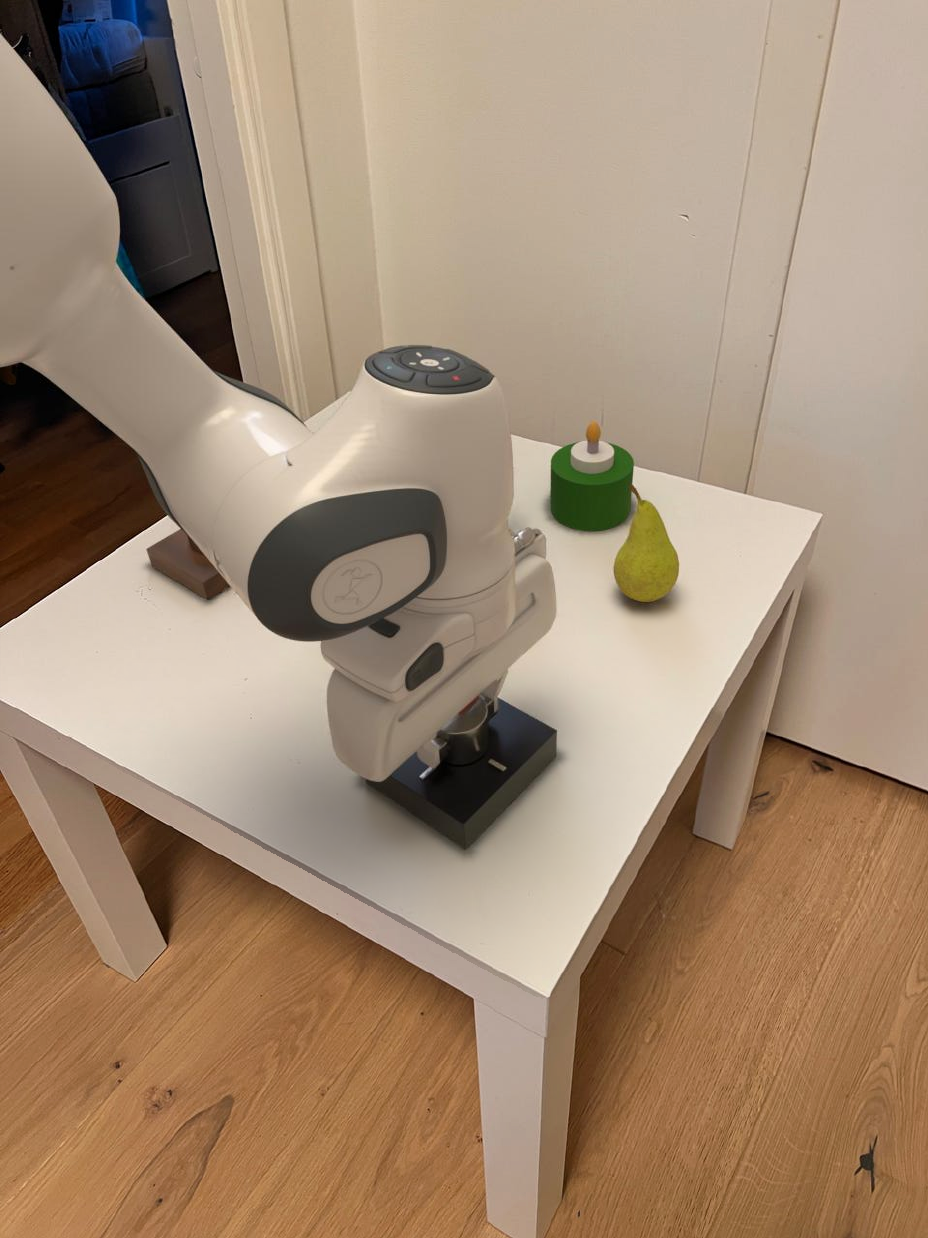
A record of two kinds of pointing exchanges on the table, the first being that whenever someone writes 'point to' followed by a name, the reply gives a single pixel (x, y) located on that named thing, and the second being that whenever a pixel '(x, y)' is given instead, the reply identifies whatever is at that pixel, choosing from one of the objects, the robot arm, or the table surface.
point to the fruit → (646, 556)
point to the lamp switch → (186, 565)
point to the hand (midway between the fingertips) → (458, 735)
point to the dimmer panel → (475, 777)
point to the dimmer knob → (467, 734)
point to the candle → (591, 483)
